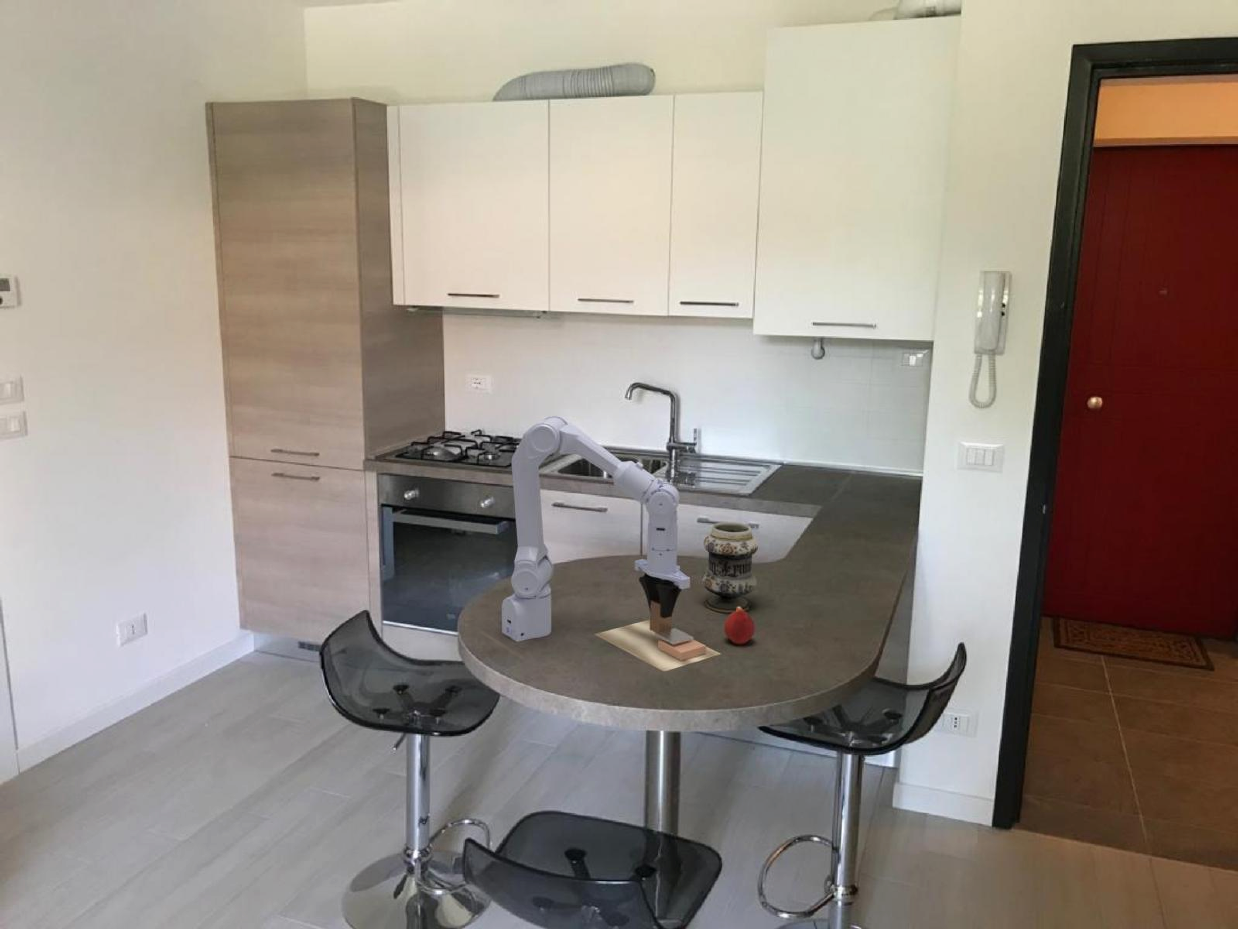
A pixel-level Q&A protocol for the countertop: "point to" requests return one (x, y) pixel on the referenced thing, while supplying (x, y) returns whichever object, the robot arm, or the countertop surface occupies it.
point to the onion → (739, 626)
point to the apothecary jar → (729, 566)
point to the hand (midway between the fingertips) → (660, 614)
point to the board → (647, 646)
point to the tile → (682, 649)
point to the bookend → (665, 626)
